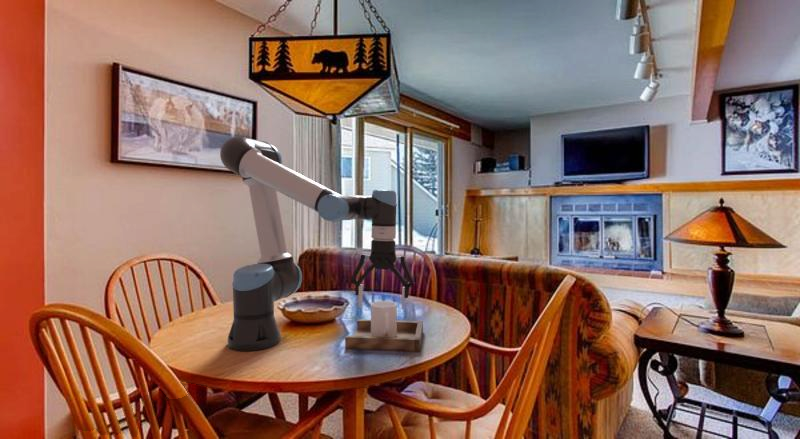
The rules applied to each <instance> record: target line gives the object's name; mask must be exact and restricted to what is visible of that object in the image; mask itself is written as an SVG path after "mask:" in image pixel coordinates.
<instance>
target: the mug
mask: <svg viewBox="0 0 800 439" xmlns="http://www.w3.org/2000/svg"><path fill="white" fill-rule="evenodd" d="M370 320H371V336H377V337H395V336H396V334H397V321H398V304H397V303H396V302H395V301H392V300H376V301H373V302H371V303H370Z"/></svg>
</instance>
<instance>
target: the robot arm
mask: <svg viewBox="0 0 800 439" xmlns="http://www.w3.org/2000/svg"><path fill="white" fill-rule="evenodd" d="M220 148H221V149H220V152H219V153H220V154H219V155H220V160H221V163H222V164H223V166H224V167H225V168H226V169H227V170H228V171H230V172H233V173H234V174H236V175H238V176H240V177H241V178H242V182H243V184H244V185H246V186H247V187H248V189H249V195H250V201H251V207H252V213H253V218H254V224H255V225H254V226H255V229H256V235H257V242H258V247H259V252H260V253H259V254H260V258H259V260H258V261H257V263H254V264H253V263H252V264H249V265H248V264H247V265H245V266H242V267H239V268H238V269H236V270H235V271H234V272H233V278H232V292H233V293H232V296H233V298H232V299H233V301H232V302H233V319H232V320H233V321H232V324H231V327H230V330H229V334H228V336H227V347H228V348H229V349H230V350H234V351H239V352H253V351H259V350H265V349H269V348H271V347H274V346H276V345H277V344H278V343H280V341H281V332H280V329H279V325H278V324H277V321H276V318H275V302H277V301H280V300H282V299H285V298H288V297H290V296H292V294H294V293H296V292H297V291H298V290H299V288H300V287H301V285H302V282H303V274H302V270H301V268H300V266H299V265H297V263H296V262H294V258H293V254H291V253H289V252H288V249H287V244H286V236H285V232H284V226H283V221H282V215H281V209H280V204H279V198H278V192H279V193H281V194H282V195H285V196H286V197H288V198H290V199H291V200H294V201H296V202H298V203H299V204H302V205H304V206H305V207H307V208H308V209H311V210H313V211H315V212H316V213H318V214H319V216H320V218H322V219H323V220H324V221H327V222H331V223H332V222H333V223H335V222H336V223H337V222H342V221H350V220H351V221H352V220H364V221H365V220H367V221H371V239H372V240H371V245H370V254H366V253H362V254H361V255H360V259H359V262H358V264H357V266H356V269H355V270H354V272H353V274H352V275H351V277H350V280H349V283H350V284H353V285H354V286H355V290H354V292H355V296H358V297H357V298H358V299H357V300H358V303H357V305H358V306H357V307H362V306H363V301H364V300H363V298H364V296H363V295H364V294H363V293H364V292H363V291H364V290H363V289H364V288H363V287H364V284H362V282H363V281H364V280H365V279H366V278H367V277H368V275H369V274H371V272H372V271H373V270H374V269H376V270H385V271H387V270H390V271H391V272H392V273H393V274H394V276H395V277H396V279H397V280H398V281H400V283H401V284H402V289H401V310H405V307H406V299H408V298H409V295H410V294H409V292H410V288H411V287H414V286H415V284H416V281H415V280H414V277H413V275H412V274H411V271H410V269H409V266H408V265H407V262H406V256H405V255H398V256H397V255H396V240H395V239H396V238H397V237H396V236H397V206H398V204H397V193H396V191H395V190H392V189H374V190H372V193H371V195H354V194H353V195H350V194H340V193H338V192H336V191H334V190H332V189H329V188H328V187H326V186H325V185H323V184H320V183H318V182H315V181H314V180H312V179H310V178H308V177H306V176H304V175H302V174H301V173H298V172H296V171H295V170H293V169H291V168H288V167H286V166H285V165H283V160H282V155H281V153H280V151H279V150H278V149H277V147H276V146H274V145H272V144H271V143H268V142H267V141H263V140H259V139H258V140H257V139H253V138H250V137H247V136H246V137H245V136H233V137H230V138H228V139H227V140H226V141H225V142H224V143H223V144H222V146H221V147H220ZM368 260H369V261H370V263H371V264H370V266H368V268H367V269H366V270H365V271H364V273H363V274H362V275H361V276H360V277H359V278H358V276H359V274H360V272H361V271H362V269H363V267H364V264H365V263H366V262H367V261H368ZM396 261H398V263H399V264H400V265H401V268H402V269H403V272H404V274H405V276H406V278H407V279H406V278H405V277H404V275H403V274H402V273H401V272H400V271H399V269H398V268H397V266H396V265H395V264H394V263H396ZM357 278H358V279H357Z"/></svg>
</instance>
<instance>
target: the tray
mask: <svg viewBox="0 0 800 439" xmlns="http://www.w3.org/2000/svg"><path fill="white" fill-rule="evenodd" d="M423 333H424V321H421V320H397V334H396V336H395V337H377V336H371V319H364V318H363V319H362V318H359V319H357V320H356V330H355V331H354V333H353V335H349V334H348V335H345V337H344V346H345V348H344V349H345V350H361V351H363V350H365V351H384V352H385V351H391V352H409V353H411V352H414V353H420V352H421V347H422V340H423Z"/></svg>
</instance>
